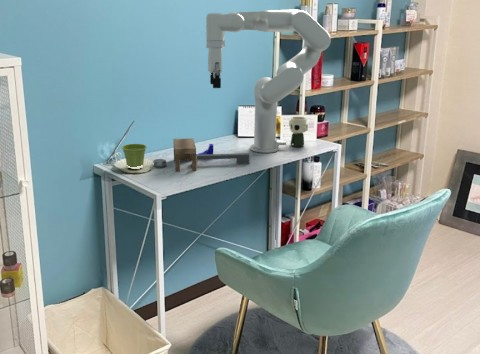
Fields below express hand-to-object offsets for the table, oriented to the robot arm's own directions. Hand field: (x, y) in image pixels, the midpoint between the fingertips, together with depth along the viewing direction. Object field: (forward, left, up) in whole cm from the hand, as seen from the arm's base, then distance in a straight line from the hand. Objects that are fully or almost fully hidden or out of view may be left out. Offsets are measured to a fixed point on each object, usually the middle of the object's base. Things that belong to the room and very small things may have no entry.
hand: (215, 86), depth 230 cm
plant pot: (+34, +21, -28) cm, 49 cm away
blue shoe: (+8, +10, -29) cm, 31 cm away
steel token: (+24, +19, -28) cm, 42 cm away
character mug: (-38, -4, -28) cm, 48 cm away
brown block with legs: (+14, +20, -28) cm, 37 cm away
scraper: (-1, +20, -28) cm, 34 cm away
